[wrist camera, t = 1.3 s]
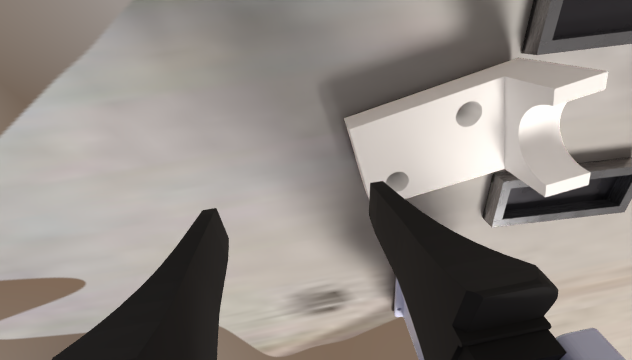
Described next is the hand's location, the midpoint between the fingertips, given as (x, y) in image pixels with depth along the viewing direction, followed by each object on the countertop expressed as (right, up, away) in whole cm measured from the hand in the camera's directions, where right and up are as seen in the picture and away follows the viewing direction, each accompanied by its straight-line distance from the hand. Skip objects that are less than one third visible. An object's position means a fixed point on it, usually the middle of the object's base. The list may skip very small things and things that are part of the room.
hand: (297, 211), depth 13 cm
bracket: (+10, +6, +10) cm, 16 cm away
